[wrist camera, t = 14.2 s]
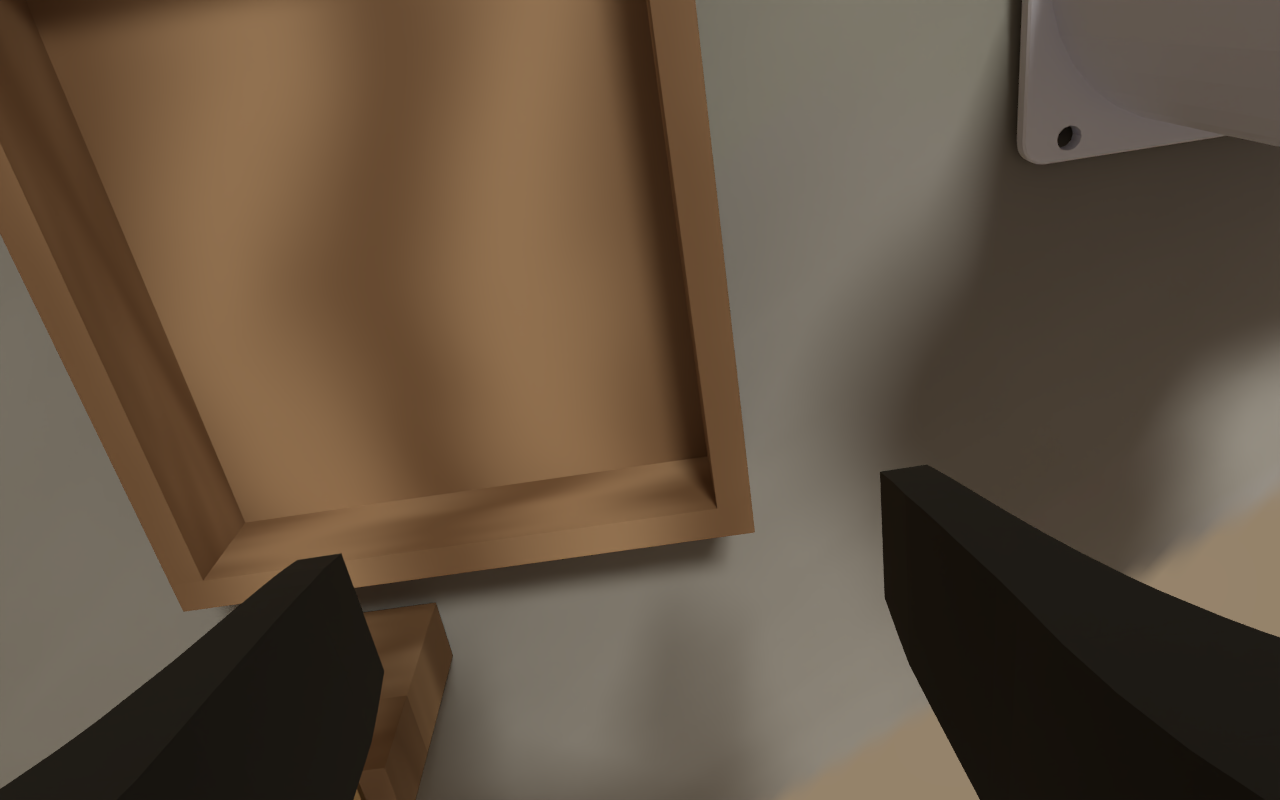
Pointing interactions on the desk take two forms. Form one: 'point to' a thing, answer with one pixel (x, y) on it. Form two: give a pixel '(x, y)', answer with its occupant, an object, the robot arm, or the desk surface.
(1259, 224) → the desk surface
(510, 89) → the wooden tray
